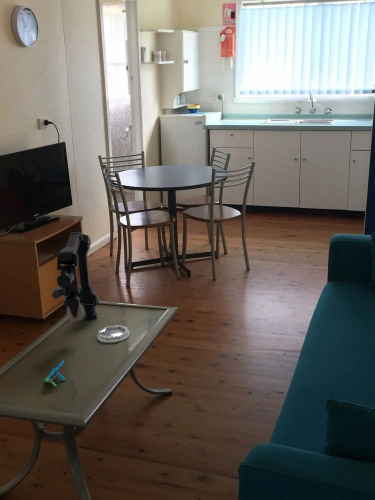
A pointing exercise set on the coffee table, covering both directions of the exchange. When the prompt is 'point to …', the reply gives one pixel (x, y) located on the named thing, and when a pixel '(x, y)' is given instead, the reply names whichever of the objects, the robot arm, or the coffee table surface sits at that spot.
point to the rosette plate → (113, 334)
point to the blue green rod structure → (54, 371)
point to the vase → (79, 313)
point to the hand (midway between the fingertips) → (75, 313)
